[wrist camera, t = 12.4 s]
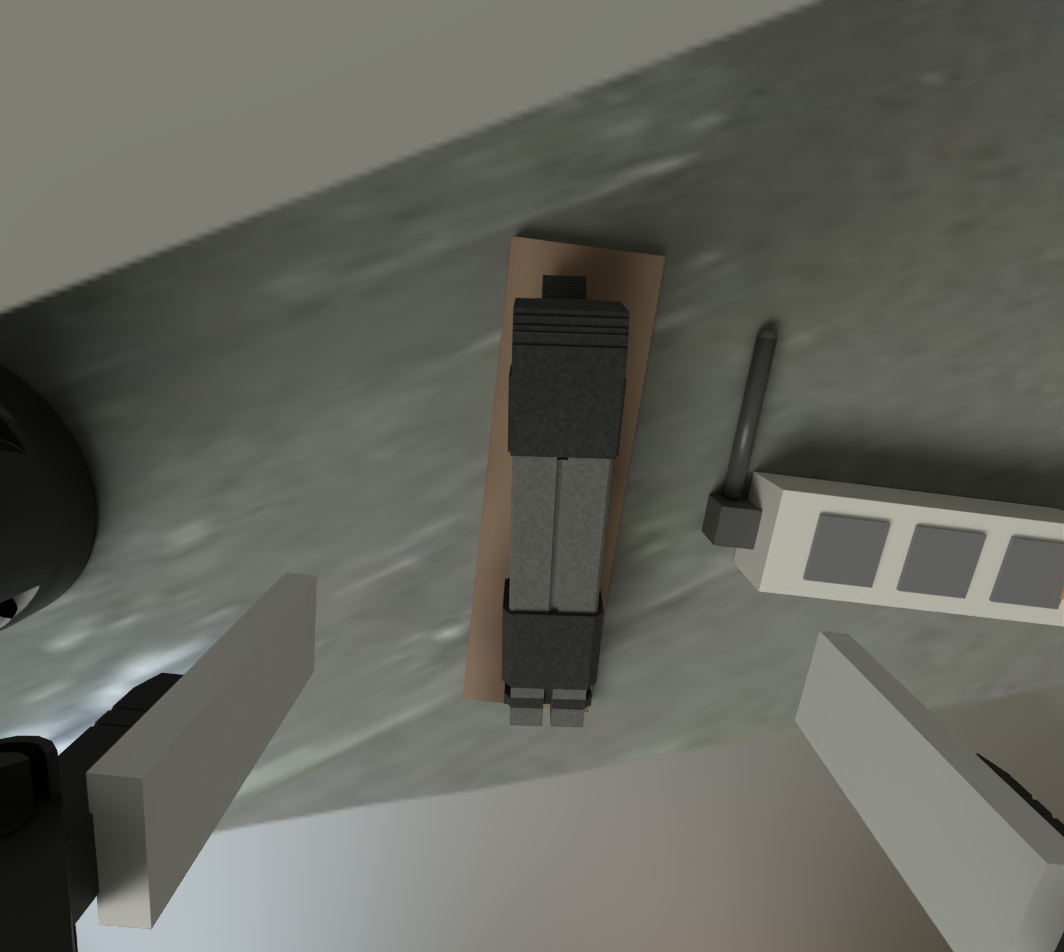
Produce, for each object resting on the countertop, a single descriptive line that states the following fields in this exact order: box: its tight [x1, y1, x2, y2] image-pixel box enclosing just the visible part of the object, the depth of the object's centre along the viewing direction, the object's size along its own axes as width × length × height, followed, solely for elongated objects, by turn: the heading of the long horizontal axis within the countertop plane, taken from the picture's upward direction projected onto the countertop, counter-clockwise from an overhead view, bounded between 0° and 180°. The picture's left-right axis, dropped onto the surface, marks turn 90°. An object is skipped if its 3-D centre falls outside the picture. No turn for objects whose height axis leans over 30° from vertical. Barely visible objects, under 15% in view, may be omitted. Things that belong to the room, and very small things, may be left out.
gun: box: [502, 275, 630, 727], centre depth 26 cm, size 4×20×10 cm, turn 178°
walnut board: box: [463, 236, 665, 712], centre depth 29 cm, size 7×24×1 cm, turn 173°
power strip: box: [702, 328, 1064, 626], centre depth 27 cm, size 18×12×4 cm, turn 83°
